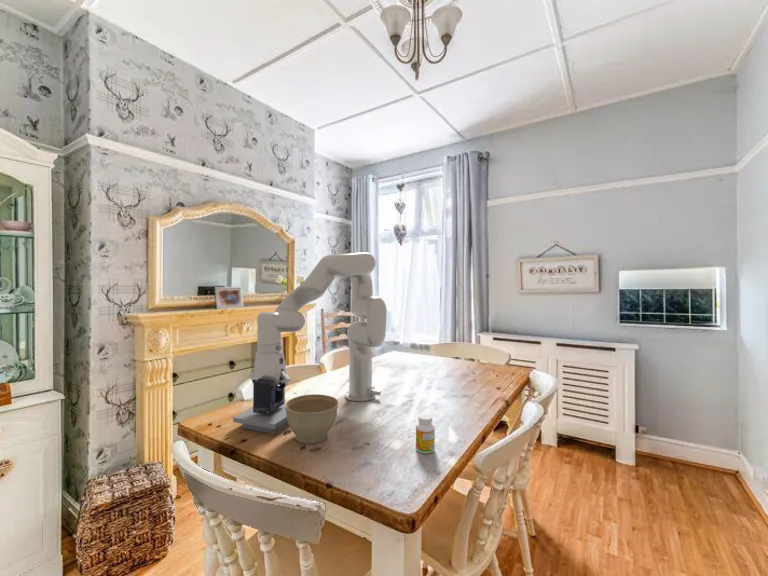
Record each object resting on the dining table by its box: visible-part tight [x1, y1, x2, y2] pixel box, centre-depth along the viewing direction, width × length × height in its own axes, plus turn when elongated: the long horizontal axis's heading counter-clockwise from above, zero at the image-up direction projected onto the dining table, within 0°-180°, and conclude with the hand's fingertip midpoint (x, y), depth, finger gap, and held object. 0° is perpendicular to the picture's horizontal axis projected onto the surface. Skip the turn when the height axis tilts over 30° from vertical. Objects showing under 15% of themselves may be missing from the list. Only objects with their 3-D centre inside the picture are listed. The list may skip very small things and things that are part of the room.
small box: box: [252, 379, 286, 414], centre depth 117 cm, size 11×6×10 cm, turn 168°
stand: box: [232, 403, 289, 434], centre depth 117 cm, size 16×16×4 cm
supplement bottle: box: [415, 413, 436, 454], centre depth 100 cm, size 5×5×10 cm
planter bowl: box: [284, 393, 339, 444], centre depth 107 cm, size 16×16×11 cm
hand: (269, 399), depth 117 cm, fingers closed on small box, 6 cm apart
